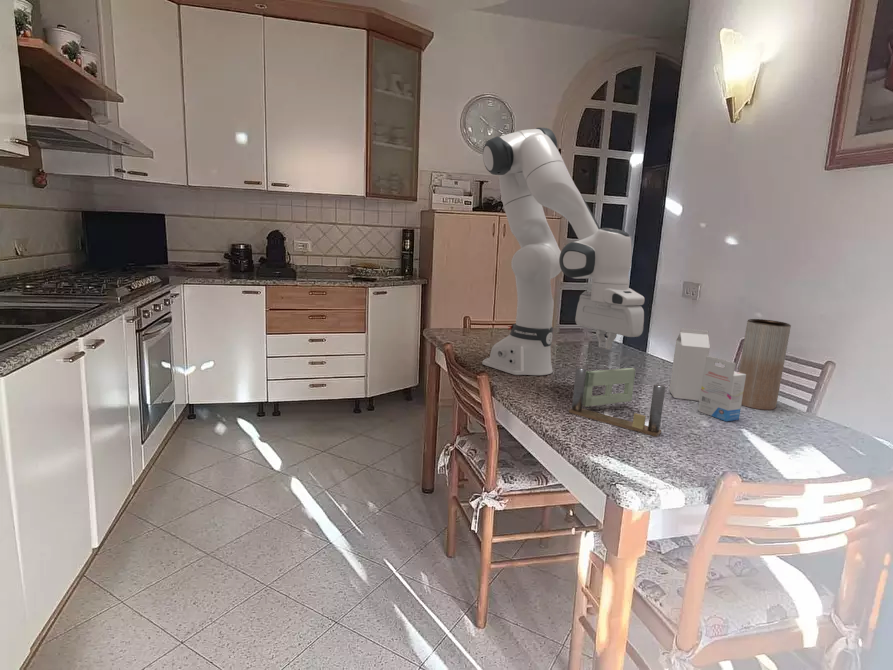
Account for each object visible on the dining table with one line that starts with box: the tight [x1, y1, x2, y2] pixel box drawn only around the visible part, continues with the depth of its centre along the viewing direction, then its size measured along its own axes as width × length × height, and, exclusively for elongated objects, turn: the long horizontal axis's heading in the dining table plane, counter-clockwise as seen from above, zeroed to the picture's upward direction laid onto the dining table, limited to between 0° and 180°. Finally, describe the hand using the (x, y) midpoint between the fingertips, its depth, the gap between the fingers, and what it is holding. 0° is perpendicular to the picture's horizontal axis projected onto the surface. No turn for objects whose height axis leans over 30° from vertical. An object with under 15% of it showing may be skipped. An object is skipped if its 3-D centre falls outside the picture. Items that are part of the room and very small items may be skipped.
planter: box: [738, 318, 792, 411], centre depth 145 cm, size 10×10×23 cm
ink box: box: [697, 355, 746, 422], centre depth 135 cm, size 8×5×15 cm, turn 26°
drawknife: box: [568, 366, 666, 437], centre depth 125 cm, size 21×3×11 cm, turn 51°
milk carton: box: [669, 327, 711, 402], centre depth 149 cm, size 7×7×19 cm
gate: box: [582, 367, 636, 408], centre depth 135 cm, size 15×1×8 cm, turn 116°
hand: (604, 348), depth 138 cm, fingers closed
